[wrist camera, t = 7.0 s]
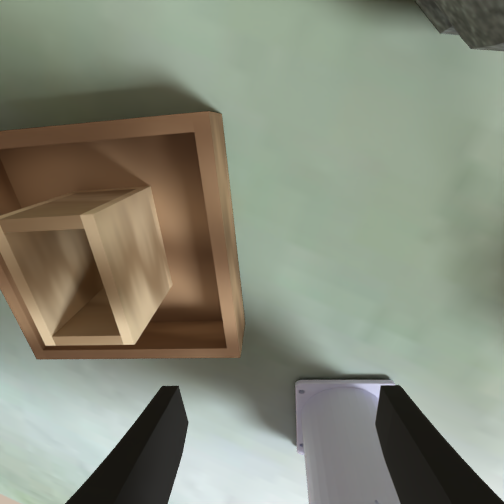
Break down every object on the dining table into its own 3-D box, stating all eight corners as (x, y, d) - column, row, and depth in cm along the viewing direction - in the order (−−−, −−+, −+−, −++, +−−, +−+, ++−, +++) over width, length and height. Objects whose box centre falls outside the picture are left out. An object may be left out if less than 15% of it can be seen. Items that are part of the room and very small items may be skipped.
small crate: (172, 284, 20) (134, 344, 15) (106, 287, 20) (45, 345, 15) (150, 186, 17) (93, 214, 12) (74, 191, 18) (-15, 220, 12)
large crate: (245, 323, 22) (240, 357, 19) (69, 327, 23) (36, 359, 20) (221, 113, 16) (208, 110, 13) (-13, 136, 17) (-78, 138, 14)
